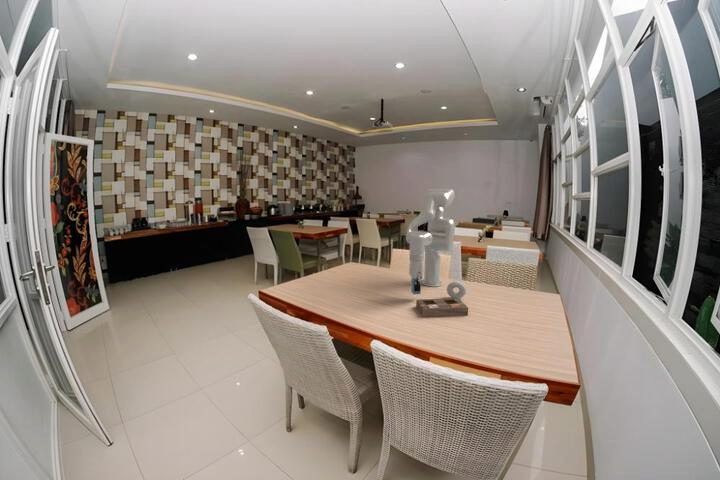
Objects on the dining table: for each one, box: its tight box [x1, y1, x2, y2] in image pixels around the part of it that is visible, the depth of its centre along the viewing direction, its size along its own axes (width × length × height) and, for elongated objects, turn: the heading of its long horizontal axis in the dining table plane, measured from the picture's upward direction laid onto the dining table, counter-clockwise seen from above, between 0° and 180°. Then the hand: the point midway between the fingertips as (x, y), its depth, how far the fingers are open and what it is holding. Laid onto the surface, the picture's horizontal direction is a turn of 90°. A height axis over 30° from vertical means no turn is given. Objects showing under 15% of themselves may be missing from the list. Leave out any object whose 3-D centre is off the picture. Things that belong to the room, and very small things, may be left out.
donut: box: [446, 280, 467, 300], centre depth 157 cm, size 10×4×10 cm, turn 69°
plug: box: [410, 277, 422, 295], centre depth 156 cm, size 4×4×8 cm
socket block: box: [415, 297, 469, 318], centre depth 142 cm, size 12×22×4 cm, turn 95°
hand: (415, 289), depth 156 cm, fingers closed on plug, 4 cm apart
